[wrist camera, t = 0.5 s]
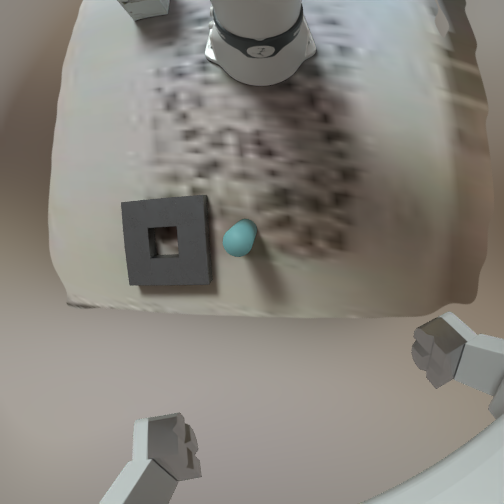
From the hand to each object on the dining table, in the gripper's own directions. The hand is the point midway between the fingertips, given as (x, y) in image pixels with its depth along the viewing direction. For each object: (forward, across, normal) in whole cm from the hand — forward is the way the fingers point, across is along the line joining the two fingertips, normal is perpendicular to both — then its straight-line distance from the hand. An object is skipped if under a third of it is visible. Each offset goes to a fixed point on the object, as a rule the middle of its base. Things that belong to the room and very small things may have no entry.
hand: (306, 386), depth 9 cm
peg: (+40, -3, +10) cm, 42 cm away
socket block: (+43, +10, +9) cm, 45 cm away
